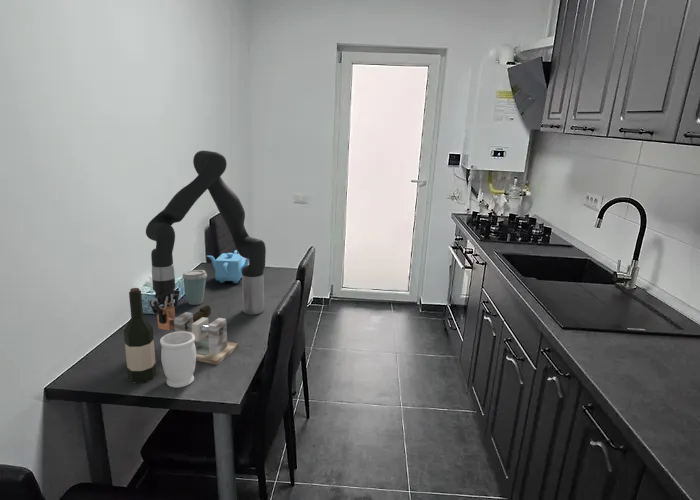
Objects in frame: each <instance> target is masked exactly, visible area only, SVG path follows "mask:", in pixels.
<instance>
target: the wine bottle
mask: <svg viewBox="0 0 700 500" xmlns="http://www.w3.org/2000/svg"><path fill="white" fill-rule="evenodd" d="M128 296H129V297H128V298H129V307H130V318H129V321H128V323H127V324H126V326H125V328H124V330H123V337H124V346H125V347H124V348H125V358H126V359H125V360H126V367H127V368H126V369H127V378H128V380H129V379H130V380H131V381H132V382H144V383H147V382H149V381H151V379H152V380H154V379H155V377H156V375H157V365H156V352H155V351H156V350H155V340H154V328H153V326H152V324H151V323H150V322H149V321H148V320H147V318H146V317H145V316H144V309H143V297H142V296H143V295H142V291H141V290H140V288H139V287H133V288H130V291H129V292H128ZM130 380H129V381H130ZM148 380H149V381H148ZM131 381H130V382H131ZM146 381H147V382H146ZM132 382H131V383H132Z"/></svg>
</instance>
